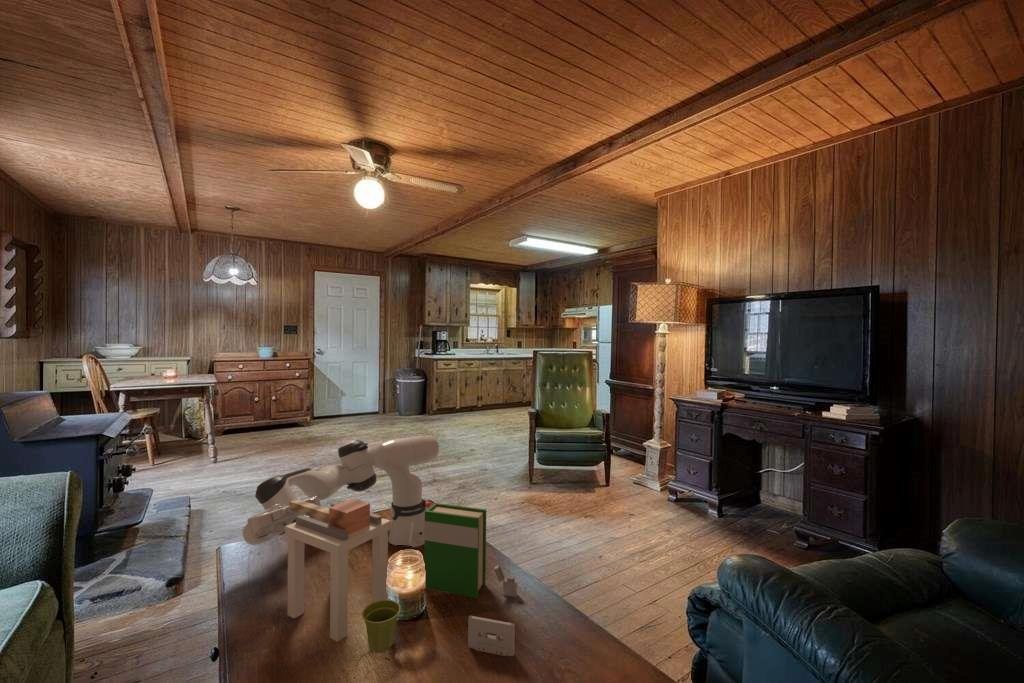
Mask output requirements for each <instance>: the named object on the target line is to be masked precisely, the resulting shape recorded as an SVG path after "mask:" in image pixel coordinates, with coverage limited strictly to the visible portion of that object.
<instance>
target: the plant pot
mask: <svg viewBox="0 0 1024 683" xmlns="http://www.w3.org/2000/svg"><path fill="white" fill-rule="evenodd" d="M401 608H402V607H401V605H400V603H399V602H398V601H395V600H392V599H387V600H380V601H376V602H373V603H372V602H371V603H370V604H368V605H367V606H365V608H364V609H363V610H362V613H361V617H362V619H363V620H364V624H365V627H366V628H365V629H366V635H367V642H368V647H369V649H370V651H374V652H375V653H383V652H386V651H388V650H389V649H390V648H391V647H392V646H393V645H395V644H394V643H395V637H396V630H397V622H398V618H399V614H400V613H401Z"/></svg>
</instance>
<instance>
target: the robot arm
mask: <svg viewBox="0 0 1024 683" xmlns="http://www.w3.org/2000/svg"><path fill="white" fill-rule="evenodd" d="M368 445H369V443H368V442H364V441H363V440H359V439H351V440H347V441H346V442H344V443H342V445H341V446H339V448H338V450H337V452H338V458H340V461H341V465H339V464H331V465H328V466H326V467H324V468H321V469H320V470H314V469H312V468H311V467H307V468H301V469H298V470H295V471H291V472H289V473H288V472H287V473H284V474H281V475H275V476H274V475H273V476H271V477H268V478H266V479H265V480H263V481H262V482H261V483H259V485H257V487H256V491H255V498H256V500H257V501H258V502H259V503H260V504H261V506H262V508H263V509H264V510H263V511H262V512H260V513H258V514H255V515H253V516H251V517H248V518H247V523H246V524H245V526H244V527H243V529H242V537H243V540H244V541H245V543H246V544H248V545H251V546H257V545H258V546H259V545H261V544H264V543H265V542H268V541H270V540H272V539H273V538H274V537H277V536H282V535H285V526H287V525H290V524H293V523H295V522H296V517H297V516H299V515H302V516H305V515H304V514H301V513H298V512H295V511H292V510H289V504H290V501H292V500H295V499H298V497H297V495H296V494H295V493H294V491H293V489H292V488H291V486H293V485H295V486H296V487H298V488H299V489H300V490H301V491H302V493H304V494H305V496H306V497H308V499H304V500H303V501H305V502H308V503H312V504H315V505H318V506H321V507H322V505H321V504H322V503H321V501H324V500H326V499H329V498H330V497H332V496H333V495H334V494H336V493H337V492H338V491H339V490H340V489H341V488H342V487H344V486H346V485H347V486H346V489H347V490H352V491H353V492H365V491H367V490H369V489H371V488H372V487H373V486H374V485H375V484H376V483H377V475H376V474H377V473H375V469H374V467H375V468H377V469H378V468H379V469H381V471H382V470H383V471H384V472H385V473H386V475H388V477H389V479H390V482H391V488H392V502H391V508H390V516H391V529H390V530H389V532H388V543H389V544H392V545H393V546H397V545H409V546H412V547H411V548H418V547H421V546H423V545H424V539H425V511H426V510H427V509H428V508H430V507H431V506H432V504H431V502H429V501H428V500H425V499H424V498H423V483H422V480H421V478H420V477H419V476H417V475H415V474H413V473H411V472H410V467H412V466H417V465H423V464H425V463H429V462H430V461H431V462H432V461H433V460H436V458H437V457H438V454H439V453H440V452H439V451H440V446H439V442H438V440H437V439H436V438H435V436H433V435H425V434H424V435H423V434H420V435H414V436H407V437H401V438H394V439H389V440H385V441H381V442H378V443H376V444H375V445H373V446H371V447H369V446H368ZM409 546H408V547H409Z"/></svg>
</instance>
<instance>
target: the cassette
mask: <svg viewBox="0 0 1024 683" xmlns="http://www.w3.org/2000/svg"><path fill="white" fill-rule="evenodd" d="M467 620H468V623H467V626H468V627H467V630H468V631H467V636H468V637H467V639H468V640H467V647H468V648H469V649H474V651H479V652H484V653H489V654H493V655H499V656H503V657H506V656H509V657H514V656H515V645H516V644H515V642H516V640H515V639H516V638H515V635H516V634H515V632H516V627H515V626H516V625H515V623H514V622H513V623H512V622H507V621H501V620H497V619H491V618H485V617H480V616H474V615H470V616H468V619H467ZM491 634H492V635H491Z"/></svg>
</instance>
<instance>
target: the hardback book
mask: <svg viewBox="0 0 1024 683" xmlns="http://www.w3.org/2000/svg"><path fill="white" fill-rule="evenodd" d="M423 550H424V554H423V555H424V557H423V558H424V560H423V562H424V563H425V570H426V588H427V589H426V588H425V589H426V590H432V591H436V590H437V592H442V593H448V594H453V595H458V596H464V597H469V598H472V599H473V598H474V599H478V598H479V590H480V589H481V588H482V587H484V588H485V587H486V585H487V584H486V582H487V578H486V576H487V574H486V573H487V570H486V569H487V560H486V559H487V509H485V508H479V507H470V506H465V505H464V506H462V505H454V504H449V503H448V504H447V503H442V502H441V503H439V502H435V503H433V504H431V506H430V507H429V508H427V510H426V511H425V539H424V548H423ZM424 563H423V564H424Z"/></svg>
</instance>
